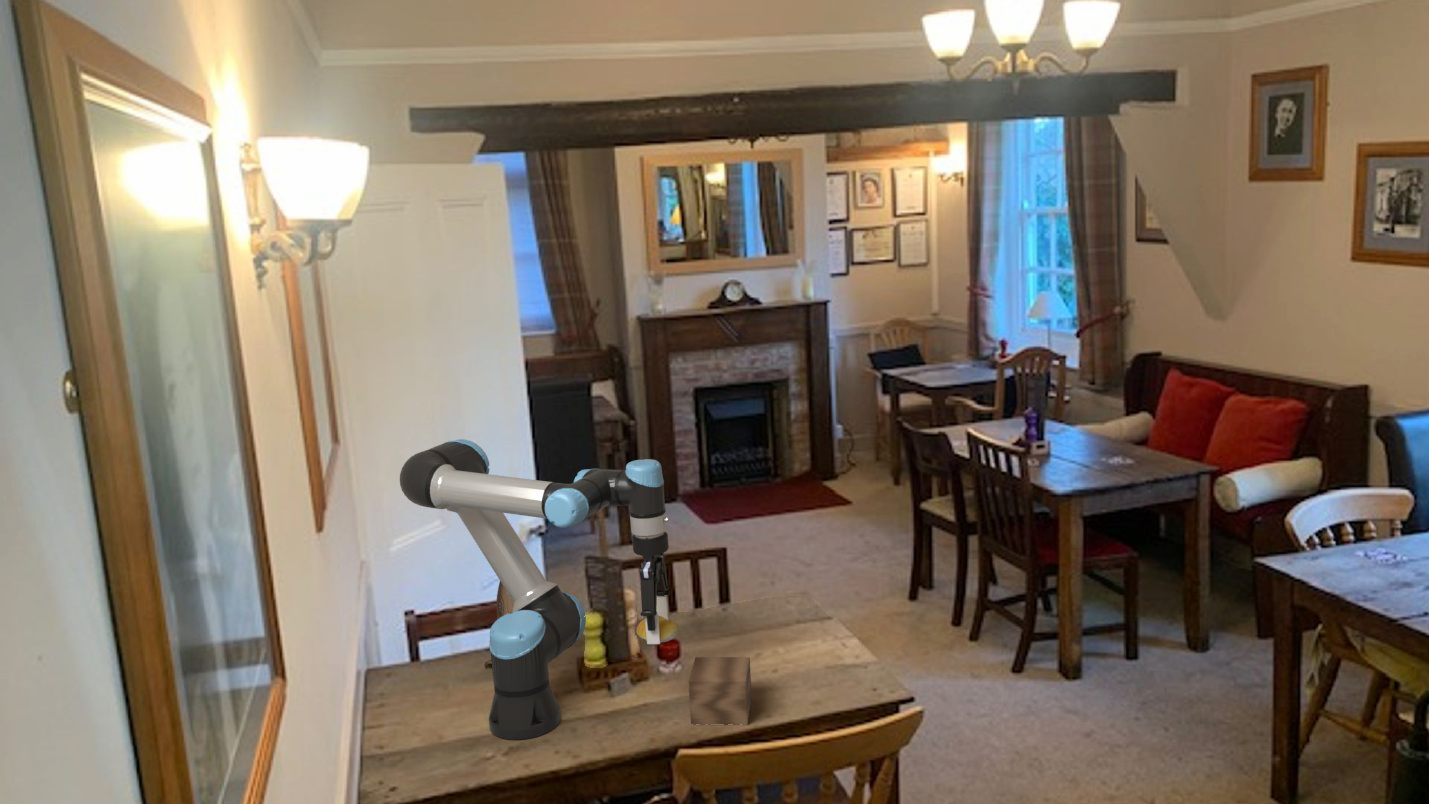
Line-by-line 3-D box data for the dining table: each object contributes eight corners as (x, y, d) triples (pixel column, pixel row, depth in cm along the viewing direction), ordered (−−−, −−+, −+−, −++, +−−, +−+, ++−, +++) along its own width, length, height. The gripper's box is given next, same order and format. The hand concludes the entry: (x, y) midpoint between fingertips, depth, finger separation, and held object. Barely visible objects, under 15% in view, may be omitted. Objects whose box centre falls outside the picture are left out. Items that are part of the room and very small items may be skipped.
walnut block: (691, 725, 225) (688, 681, 223) (697, 699, 236) (695, 657, 234) (747, 726, 223) (745, 681, 221) (751, 699, 235) (749, 657, 233)
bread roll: (656, 647, 221) (655, 629, 221) (631, 636, 228) (629, 618, 228) (687, 635, 227) (685, 617, 226) (661, 625, 233) (660, 607, 233)
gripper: (657, 549, 212) (666, 655, 216) (676, 517, 234) (684, 614, 237) (620, 550, 213) (630, 655, 217) (642, 518, 235) (651, 615, 239)
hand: (658, 634), depth 227 cm, fingers closed on bread roll, 9 cm apart
